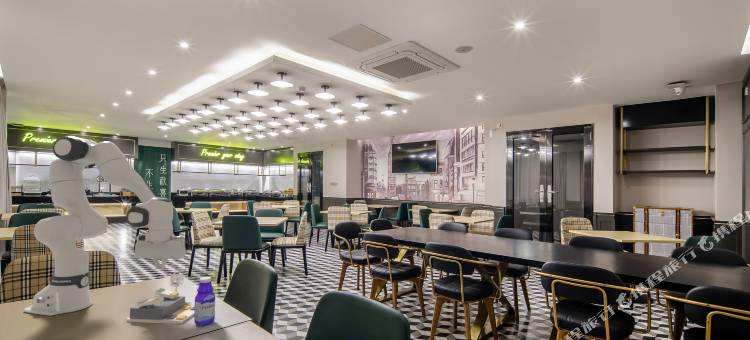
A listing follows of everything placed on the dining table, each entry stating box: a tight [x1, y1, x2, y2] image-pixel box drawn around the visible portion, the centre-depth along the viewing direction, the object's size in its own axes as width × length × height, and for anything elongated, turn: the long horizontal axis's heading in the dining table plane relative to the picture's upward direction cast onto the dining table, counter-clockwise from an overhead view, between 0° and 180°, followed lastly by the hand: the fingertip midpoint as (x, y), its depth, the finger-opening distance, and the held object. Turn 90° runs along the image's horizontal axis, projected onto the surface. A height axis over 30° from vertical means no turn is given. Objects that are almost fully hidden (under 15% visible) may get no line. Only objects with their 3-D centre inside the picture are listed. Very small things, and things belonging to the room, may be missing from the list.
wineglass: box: [168, 271, 185, 292], centre depth 164 cm, size 6×6×12 cm
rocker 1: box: [136, 297, 164, 307], centre depth 141 cm, size 8×4×2 cm, turn 88°
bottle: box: [193, 276, 216, 327], centre depth 139 cm, size 7×6×17 cm
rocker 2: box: [154, 287, 180, 299], centre depth 151 cm, size 8×4×2 cm, turn 87°
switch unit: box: [125, 294, 195, 325], centre depth 146 cm, size 22×16×6 cm
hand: (160, 268), depth 151 cm, fingers closed
